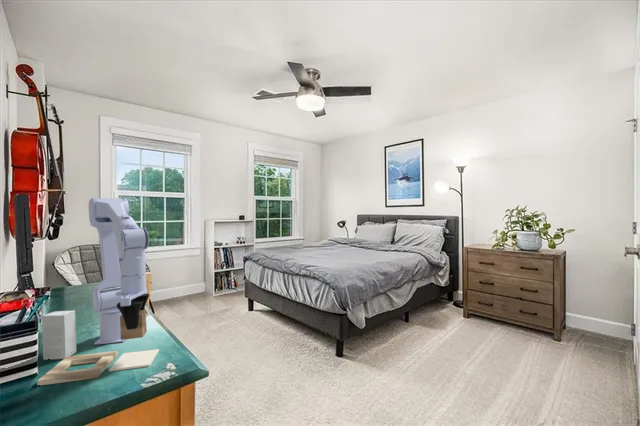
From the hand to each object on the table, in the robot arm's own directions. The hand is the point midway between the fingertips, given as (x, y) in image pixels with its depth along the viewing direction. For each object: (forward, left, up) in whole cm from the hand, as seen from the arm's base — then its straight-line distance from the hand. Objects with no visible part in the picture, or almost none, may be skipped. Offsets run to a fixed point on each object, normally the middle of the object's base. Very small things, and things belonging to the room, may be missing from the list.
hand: (134, 325), depth 81 cm
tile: (0, 0, -9) cm, 9 cm away
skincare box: (-9, -22, -10) cm, 25 cm away
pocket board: (+1, -12, -9) cm, 15 cm away
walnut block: (0, 0, -3) cm, 3 cm away
